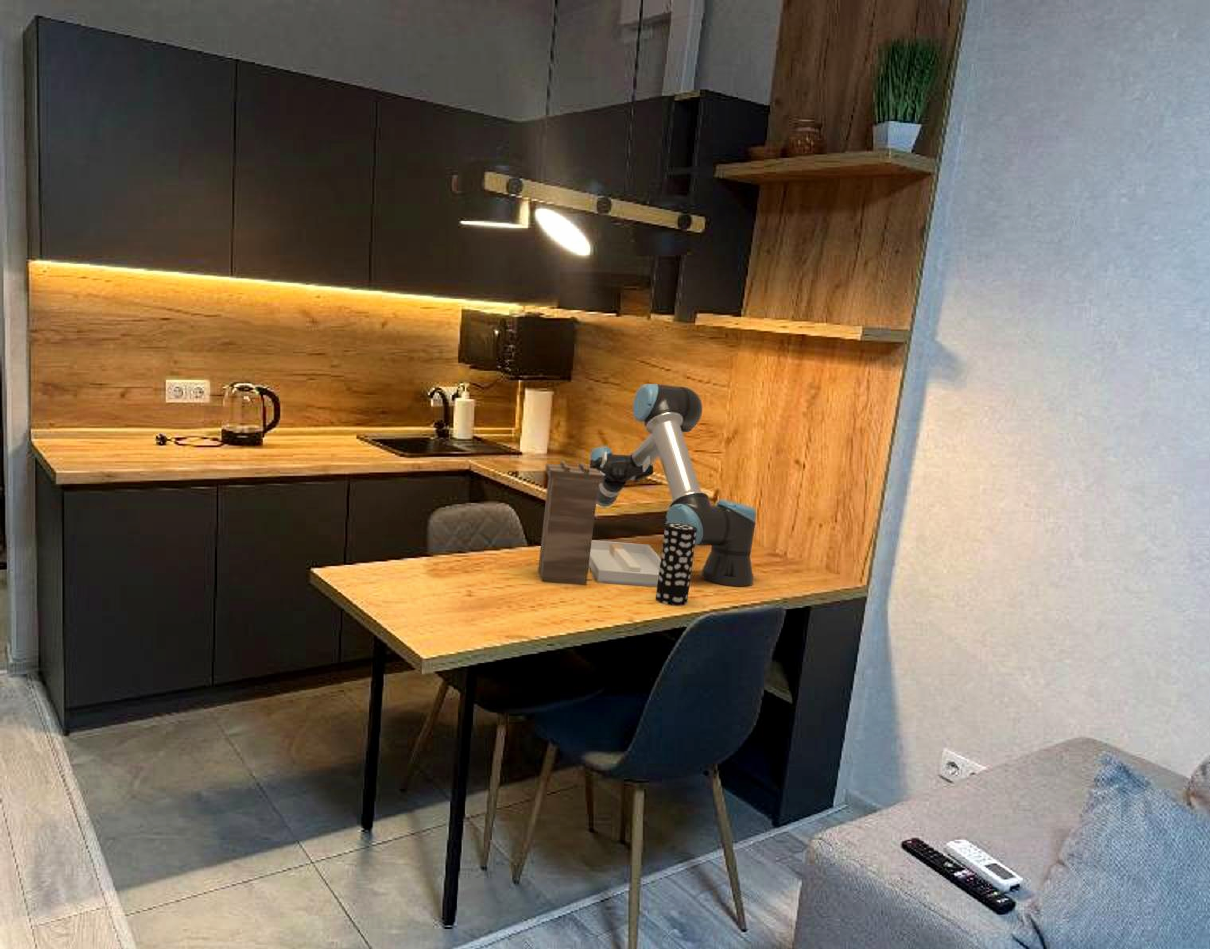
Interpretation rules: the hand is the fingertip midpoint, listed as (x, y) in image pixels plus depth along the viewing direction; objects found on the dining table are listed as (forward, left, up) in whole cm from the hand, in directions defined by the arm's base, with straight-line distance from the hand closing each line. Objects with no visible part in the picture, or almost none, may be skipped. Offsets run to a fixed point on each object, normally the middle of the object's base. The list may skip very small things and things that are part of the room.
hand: (627, 457), depth 283 cm
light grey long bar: (-13, +7, -30) cm, 33 cm away
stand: (-17, +33, -31) cm, 48 cm away
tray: (-13, +7, -31) cm, 34 cm away
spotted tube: (-44, +17, -31) cm, 57 cm away
